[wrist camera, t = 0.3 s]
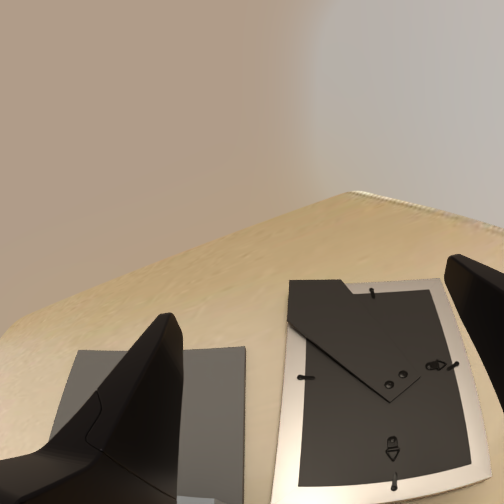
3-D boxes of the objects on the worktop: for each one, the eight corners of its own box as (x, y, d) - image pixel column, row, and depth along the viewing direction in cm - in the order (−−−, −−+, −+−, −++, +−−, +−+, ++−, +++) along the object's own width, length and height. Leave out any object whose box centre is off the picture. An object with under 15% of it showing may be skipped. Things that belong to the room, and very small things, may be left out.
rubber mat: (243, 504, 16) (242, 504, 16) (46, 469, 18) (41, 467, 17) (245, 350, 27) (244, 346, 27) (81, 353, 29) (78, 349, 29)
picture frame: (291, 299, 32) (272, 508, 16) (289, 279, 31) (268, 505, 14) (435, 292, 29) (479, 483, 13) (441, 272, 28) (497, 474, 11)
